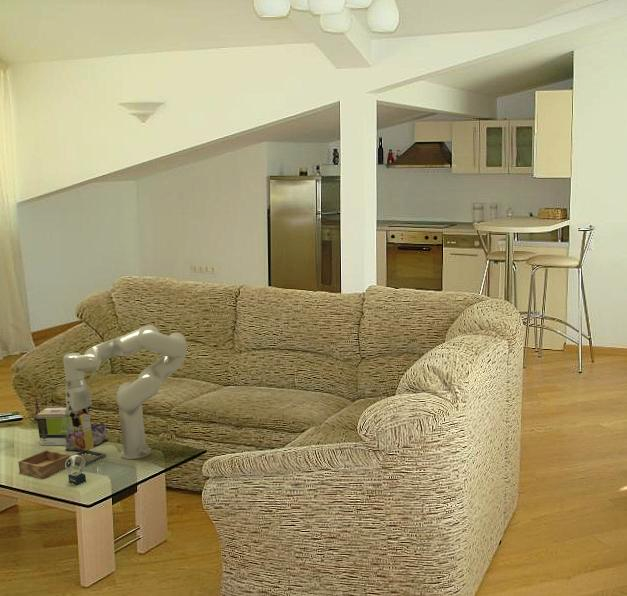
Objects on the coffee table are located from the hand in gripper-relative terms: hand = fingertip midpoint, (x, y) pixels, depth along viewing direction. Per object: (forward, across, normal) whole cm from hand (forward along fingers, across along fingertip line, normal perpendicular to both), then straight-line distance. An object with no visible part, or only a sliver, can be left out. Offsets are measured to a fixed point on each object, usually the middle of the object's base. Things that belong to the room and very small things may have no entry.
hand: (80, 424), depth 394 cm
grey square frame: (+16, 0, 0) cm, 16 cm away
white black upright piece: (+16, -19, -16) cm, 30 cm away
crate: (+16, -15, +7) cm, 23 cm away
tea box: (+16, +12, +28) cm, 35 cm away
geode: (+16, +14, +13) cm, 25 cm away
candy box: (+11, 0, 0) cm, 11 cm away
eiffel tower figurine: (+16, +31, +64) cm, 73 cm away
